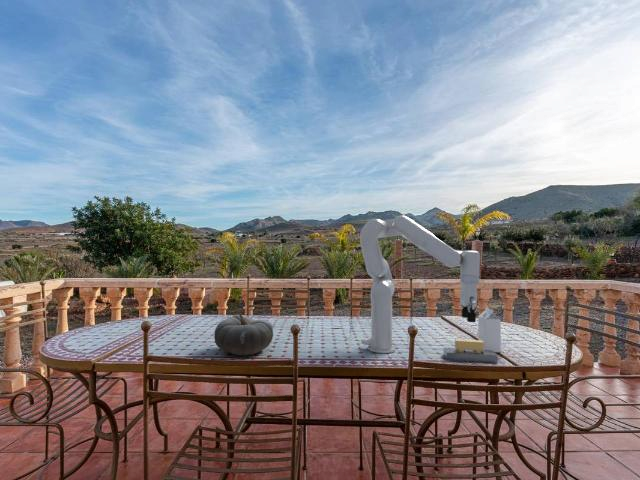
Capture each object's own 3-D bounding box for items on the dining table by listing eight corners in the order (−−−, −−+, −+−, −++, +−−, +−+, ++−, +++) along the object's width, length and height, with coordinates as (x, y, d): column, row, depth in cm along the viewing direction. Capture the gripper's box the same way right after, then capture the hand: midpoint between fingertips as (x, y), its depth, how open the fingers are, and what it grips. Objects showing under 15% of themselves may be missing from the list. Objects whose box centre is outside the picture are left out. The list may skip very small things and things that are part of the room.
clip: (456, 358, 156) (456, 340, 156) (455, 356, 159) (455, 339, 159) (483, 360, 154) (483, 342, 154) (482, 358, 157) (482, 340, 157)
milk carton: (492, 348, 173) (492, 307, 173) (500, 352, 166) (500, 310, 166) (478, 348, 173) (478, 307, 173) (485, 352, 166) (485, 310, 166)
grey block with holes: (446, 359, 154) (446, 352, 154) (443, 354, 162) (443, 347, 162) (497, 362, 151) (497, 355, 151) (491, 357, 159) (491, 350, 159)
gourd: (228, 336, 179) (233, 302, 177) (277, 348, 174) (282, 313, 173) (202, 356, 154) (207, 316, 152) (258, 370, 150) (264, 330, 148)
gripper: (456, 277, 166) (455, 315, 166) (464, 280, 149) (463, 323, 149) (473, 278, 165) (472, 316, 165) (484, 281, 148) (483, 324, 148)
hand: (468, 319), depth 157 cm, fingers open, 9 cm apart
